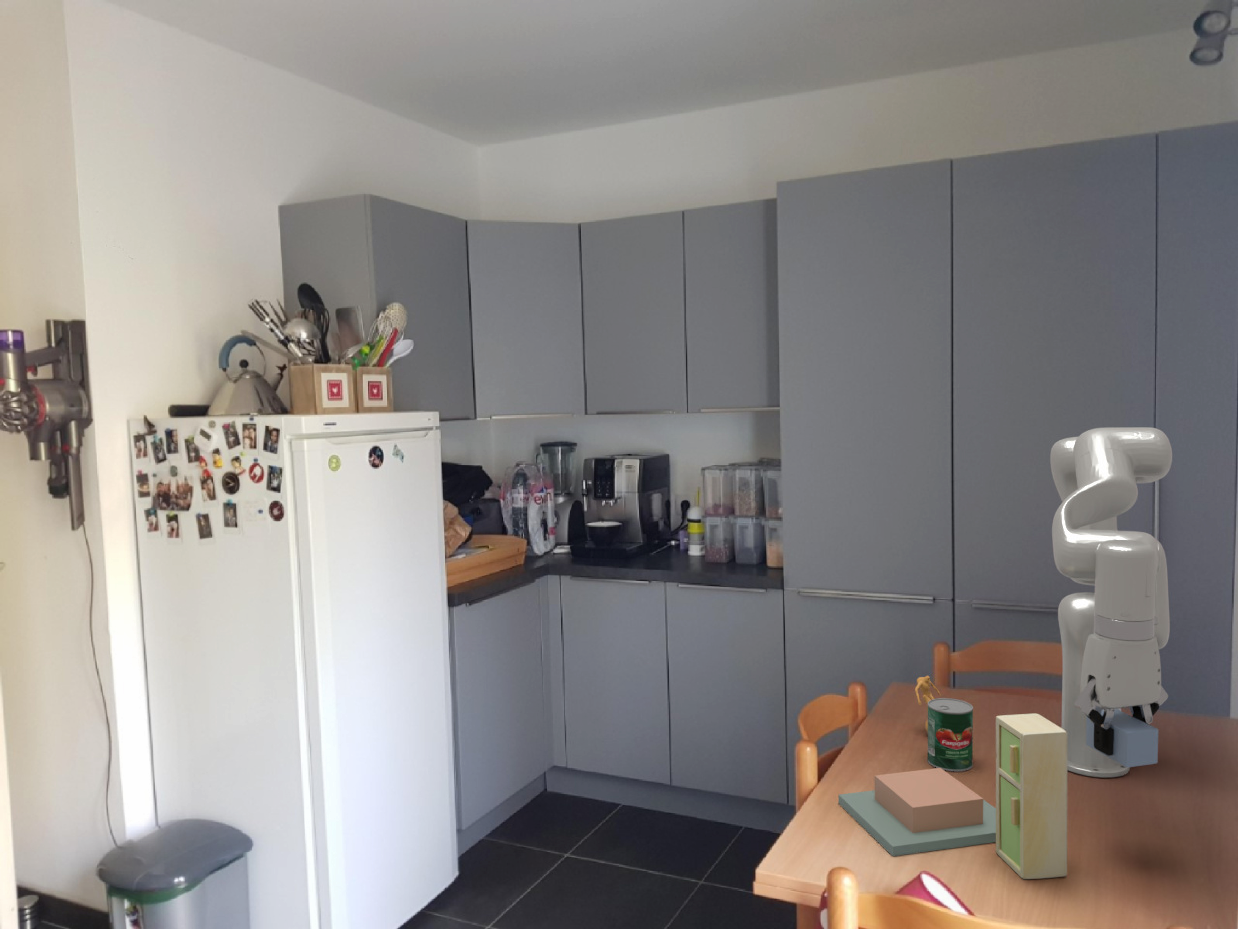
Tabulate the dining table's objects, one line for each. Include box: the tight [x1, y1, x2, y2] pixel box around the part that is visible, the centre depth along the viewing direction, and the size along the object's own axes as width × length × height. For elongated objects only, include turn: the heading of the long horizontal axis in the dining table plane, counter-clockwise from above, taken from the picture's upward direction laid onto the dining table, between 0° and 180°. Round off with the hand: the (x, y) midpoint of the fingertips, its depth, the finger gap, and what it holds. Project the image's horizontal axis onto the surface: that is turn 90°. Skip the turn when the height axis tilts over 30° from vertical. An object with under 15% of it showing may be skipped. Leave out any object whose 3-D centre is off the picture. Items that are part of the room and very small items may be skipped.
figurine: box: [914, 675, 942, 733], centre depth 179 cm, size 8×6×12 cm
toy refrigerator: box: [995, 712, 1068, 880], centre depth 130 cm, size 8×7×21 cm
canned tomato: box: [927, 697, 974, 772], centre depth 166 cm, size 8×8×11 cm
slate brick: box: [1086, 709, 1159, 768], centre depth 130 cm, size 5×8×5 cm, turn 12°
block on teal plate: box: [838, 767, 996, 857], centre depth 144 cm, size 22×18×6 cm
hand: (1120, 748), depth 130 cm, fingers closed on slate brick, 4 cm apart
